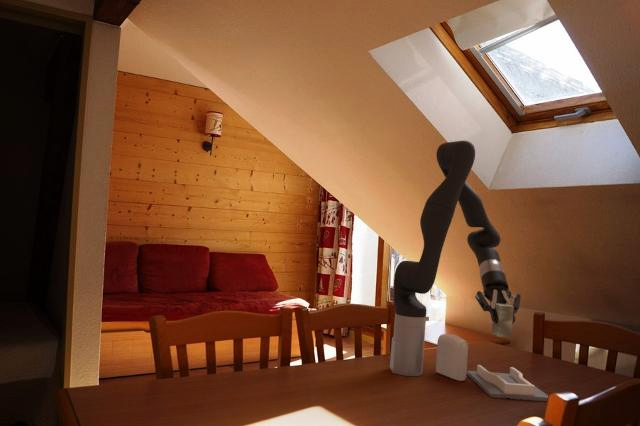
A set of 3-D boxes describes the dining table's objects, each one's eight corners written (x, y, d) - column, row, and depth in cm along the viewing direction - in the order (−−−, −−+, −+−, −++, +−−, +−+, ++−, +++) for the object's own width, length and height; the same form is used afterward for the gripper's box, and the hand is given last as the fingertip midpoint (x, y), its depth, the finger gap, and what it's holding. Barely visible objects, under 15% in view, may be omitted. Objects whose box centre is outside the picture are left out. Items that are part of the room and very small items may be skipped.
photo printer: (433, 372, 161) (436, 331, 161) (443, 371, 163) (446, 331, 163) (457, 382, 152) (460, 339, 152) (468, 380, 154) (471, 338, 154)
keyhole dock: (490, 397, 139) (491, 384, 139) (466, 373, 161) (467, 362, 161) (550, 401, 140) (551, 388, 140) (518, 377, 162) (518, 366, 162)
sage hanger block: (497, 336, 154) (499, 305, 154) (492, 332, 159) (494, 303, 159) (511, 337, 154) (513, 306, 154) (505, 333, 159) (507, 304, 159)
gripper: (473, 267, 165) (484, 313, 152) (519, 271, 165) (532, 316, 152) (467, 282, 170) (477, 328, 157) (511, 286, 170) (524, 331, 158)
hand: (504, 322), depth 155 cm, fingers closed on sage hanger block, 4 cm apart
